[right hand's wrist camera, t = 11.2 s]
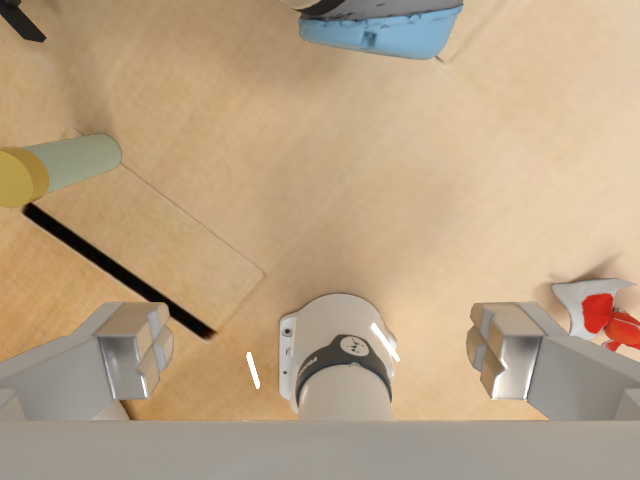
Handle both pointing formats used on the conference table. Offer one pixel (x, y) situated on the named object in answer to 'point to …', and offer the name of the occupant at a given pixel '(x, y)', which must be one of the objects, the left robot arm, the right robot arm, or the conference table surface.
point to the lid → (21, 177)
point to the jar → (77, 158)
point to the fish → (598, 311)
